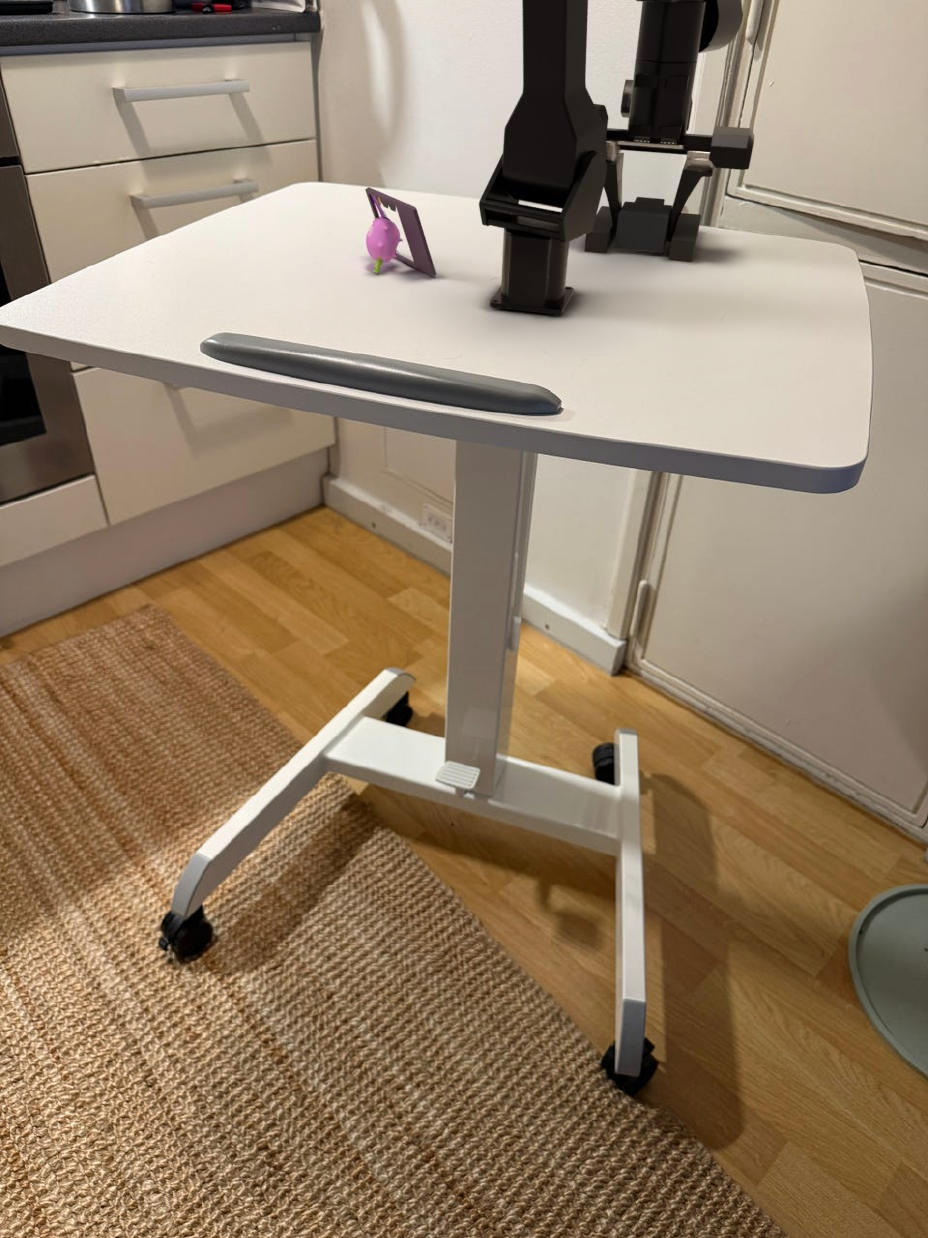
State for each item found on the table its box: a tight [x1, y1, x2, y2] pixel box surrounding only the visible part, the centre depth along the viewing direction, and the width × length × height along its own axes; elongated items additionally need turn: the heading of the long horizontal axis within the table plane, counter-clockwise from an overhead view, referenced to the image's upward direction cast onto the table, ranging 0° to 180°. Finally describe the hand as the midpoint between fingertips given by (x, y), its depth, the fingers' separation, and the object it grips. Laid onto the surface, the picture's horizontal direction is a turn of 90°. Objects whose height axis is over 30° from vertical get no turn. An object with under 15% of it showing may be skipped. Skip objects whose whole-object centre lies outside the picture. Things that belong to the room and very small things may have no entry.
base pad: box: [583, 205, 702, 262], centre depth 96 cm, size 11×11×2 cm
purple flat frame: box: [365, 186, 437, 278], centre depth 86 cm, size 7×5×9 cm
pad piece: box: [614, 196, 673, 254], centre depth 94 cm, size 8×5×4 cm, turn 165°
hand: (642, 233), depth 94 cm, fingers closed on pad piece, 5 cm apart
